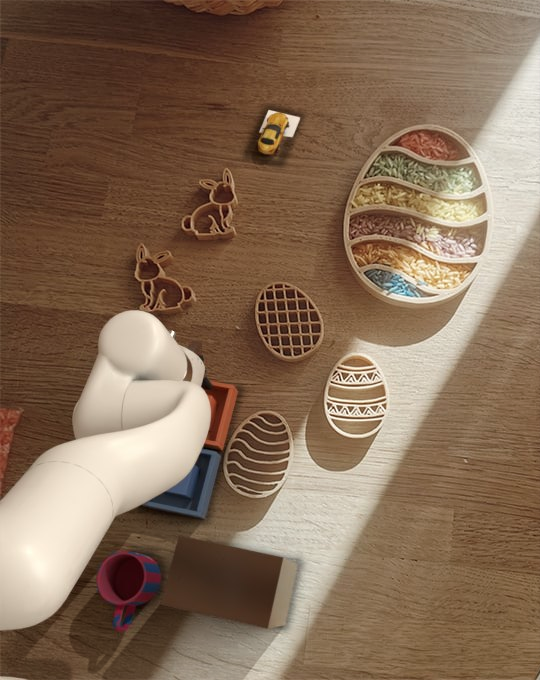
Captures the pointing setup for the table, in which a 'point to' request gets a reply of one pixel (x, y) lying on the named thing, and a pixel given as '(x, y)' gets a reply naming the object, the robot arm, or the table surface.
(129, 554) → the mug
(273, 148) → the toy car
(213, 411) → the terracotta block
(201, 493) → the slate bin
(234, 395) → the terracotta bin
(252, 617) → the stand
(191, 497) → the blue cube
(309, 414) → the table surface
